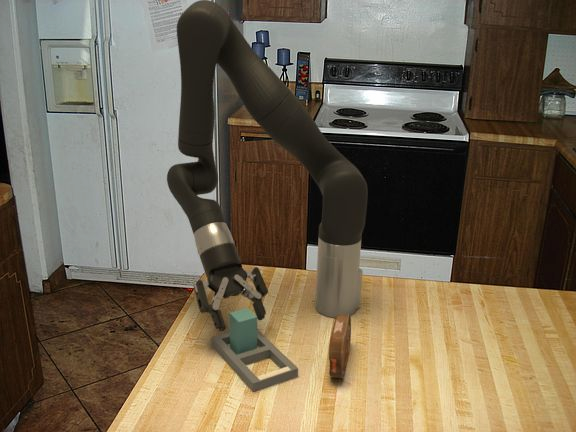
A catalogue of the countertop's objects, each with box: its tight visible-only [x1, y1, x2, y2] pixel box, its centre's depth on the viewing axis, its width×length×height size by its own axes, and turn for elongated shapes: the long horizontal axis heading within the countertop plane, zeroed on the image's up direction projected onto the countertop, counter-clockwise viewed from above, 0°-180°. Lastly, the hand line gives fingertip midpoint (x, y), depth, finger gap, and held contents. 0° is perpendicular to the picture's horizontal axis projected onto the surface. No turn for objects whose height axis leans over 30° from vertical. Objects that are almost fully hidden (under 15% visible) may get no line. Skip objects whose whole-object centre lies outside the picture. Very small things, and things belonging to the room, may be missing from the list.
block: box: [229, 307, 258, 355], centre depth 124 cm, size 4×4×8 cm
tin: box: [328, 315, 352, 380], centre depth 121 cm, size 15×3×8 cm, turn 168°
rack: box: [210, 328, 299, 393], centre depth 122 cm, size 10×18×2 cm, turn 31°
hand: (242, 324), depth 124 cm, fingers open, 8 cm apart
